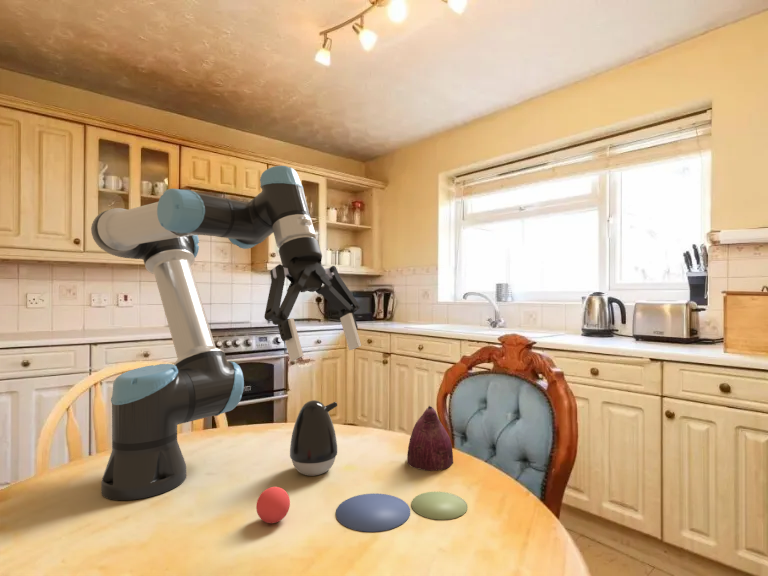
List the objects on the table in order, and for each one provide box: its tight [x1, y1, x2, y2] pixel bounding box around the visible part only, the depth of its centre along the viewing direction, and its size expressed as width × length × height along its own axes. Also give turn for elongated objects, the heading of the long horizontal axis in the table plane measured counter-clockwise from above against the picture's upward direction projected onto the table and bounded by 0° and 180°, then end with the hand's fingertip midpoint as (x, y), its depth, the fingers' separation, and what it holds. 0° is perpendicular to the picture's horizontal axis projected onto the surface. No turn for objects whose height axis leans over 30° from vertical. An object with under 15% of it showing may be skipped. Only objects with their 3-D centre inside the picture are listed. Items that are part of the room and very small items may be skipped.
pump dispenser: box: [289, 399, 338, 477], centre depth 93 cm, size 10×10×15 cm
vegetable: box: [406, 405, 454, 472], centre depth 96 cm, size 10×10×15 cm
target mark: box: [335, 493, 411, 533], centre depth 75 cm, size 13×13×1 cm
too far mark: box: [410, 491, 468, 521], centre depth 77 cm, size 10×10×1 cm
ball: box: [255, 486, 291, 524], centre depth 72 cm, size 6×6×6 cm
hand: (328, 353), depth 76 cm, fingers open, 13 cm apart
